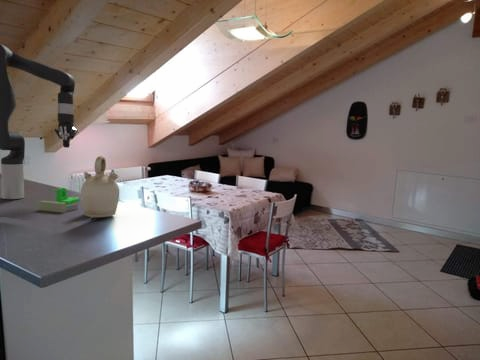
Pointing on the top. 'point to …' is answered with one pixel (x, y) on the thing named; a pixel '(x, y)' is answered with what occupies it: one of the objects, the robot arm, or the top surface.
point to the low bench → (56, 206)
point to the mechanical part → (65, 197)
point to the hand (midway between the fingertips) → (66, 147)
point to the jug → (100, 192)
